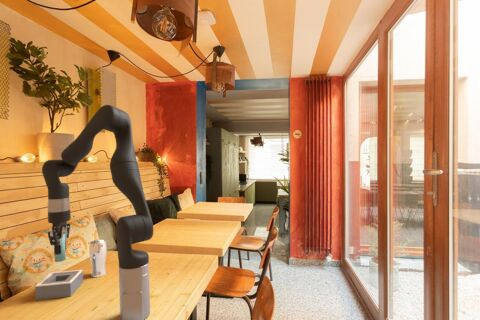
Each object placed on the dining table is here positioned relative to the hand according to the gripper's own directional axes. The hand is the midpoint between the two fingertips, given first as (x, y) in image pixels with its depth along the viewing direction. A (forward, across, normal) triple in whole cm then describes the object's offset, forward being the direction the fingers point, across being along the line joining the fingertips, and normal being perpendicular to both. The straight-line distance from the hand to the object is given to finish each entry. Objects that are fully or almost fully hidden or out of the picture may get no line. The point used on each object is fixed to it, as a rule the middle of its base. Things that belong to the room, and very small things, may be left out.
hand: (60, 252), depth 107 cm
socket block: (+15, 0, 0) cm, 15 cm away
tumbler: (+16, +13, -10) cm, 22 cm away
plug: (+3, 0, 0) cm, 3 cm away
